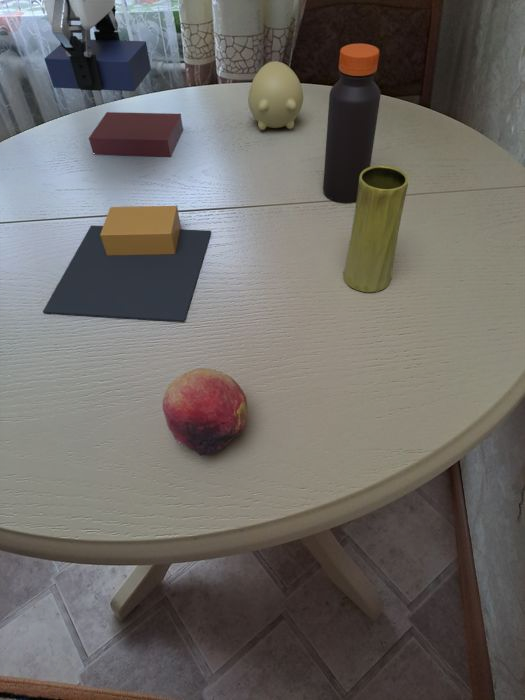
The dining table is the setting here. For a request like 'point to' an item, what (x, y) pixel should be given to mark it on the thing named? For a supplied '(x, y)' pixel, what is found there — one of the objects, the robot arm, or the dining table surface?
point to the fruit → (205, 410)
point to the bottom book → (137, 134)
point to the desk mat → (130, 281)
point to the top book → (141, 230)
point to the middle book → (104, 65)
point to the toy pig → (275, 96)
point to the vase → (375, 228)
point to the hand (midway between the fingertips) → (102, 75)
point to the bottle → (351, 122)
